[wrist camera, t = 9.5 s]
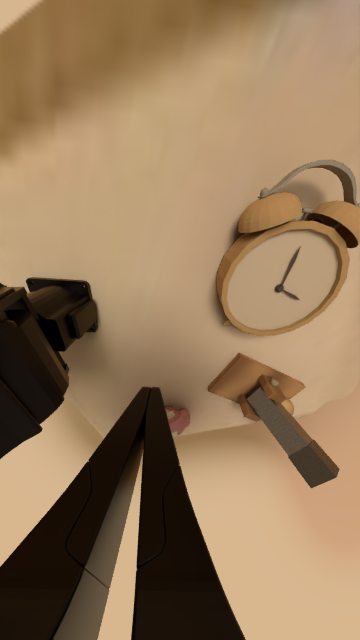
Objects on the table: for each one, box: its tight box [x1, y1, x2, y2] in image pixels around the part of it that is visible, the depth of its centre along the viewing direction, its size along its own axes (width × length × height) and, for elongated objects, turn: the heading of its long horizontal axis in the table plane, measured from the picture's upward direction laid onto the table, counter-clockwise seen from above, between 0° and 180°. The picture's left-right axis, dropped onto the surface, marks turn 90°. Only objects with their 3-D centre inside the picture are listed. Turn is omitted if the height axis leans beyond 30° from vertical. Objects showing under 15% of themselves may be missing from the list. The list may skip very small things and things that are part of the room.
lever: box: [247, 387, 339, 488], centre depth 22 cm, size 2×3×10 cm, turn 152°
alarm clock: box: [216, 160, 360, 336], centre depth 16 cm, size 11×5×15 cm
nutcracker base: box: [208, 353, 305, 421], centre depth 25 cm, size 12×8×4 cm, turn 61°
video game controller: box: [165, 406, 190, 438], centre depth 28 cm, size 10×5×7 cm, turn 111°
